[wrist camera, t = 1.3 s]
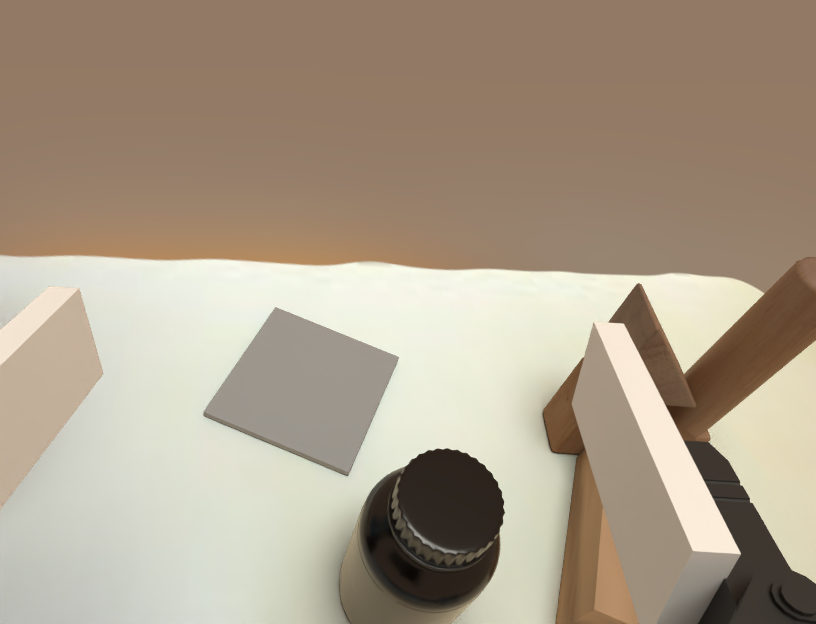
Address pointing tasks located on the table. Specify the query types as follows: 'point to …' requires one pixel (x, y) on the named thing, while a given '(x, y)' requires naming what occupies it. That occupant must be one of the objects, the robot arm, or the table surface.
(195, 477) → the table surface
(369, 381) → the felt pad
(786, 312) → the wooden block
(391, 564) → the supplement bottle
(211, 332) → the table surface
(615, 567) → the plane block
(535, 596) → the table surface
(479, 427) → the table surface
